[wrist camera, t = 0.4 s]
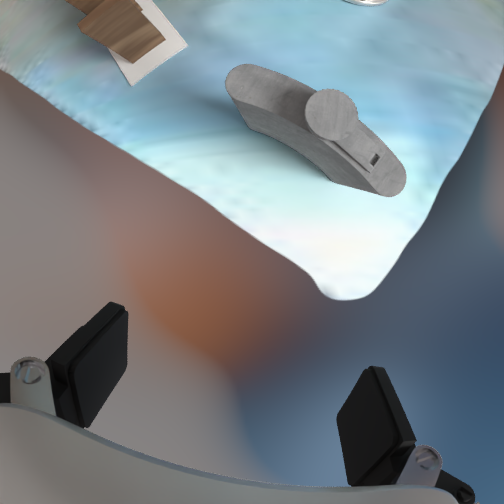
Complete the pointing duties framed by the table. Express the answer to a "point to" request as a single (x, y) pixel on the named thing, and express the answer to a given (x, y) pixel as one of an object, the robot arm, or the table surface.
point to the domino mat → (159, 53)
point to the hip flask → (316, 128)
